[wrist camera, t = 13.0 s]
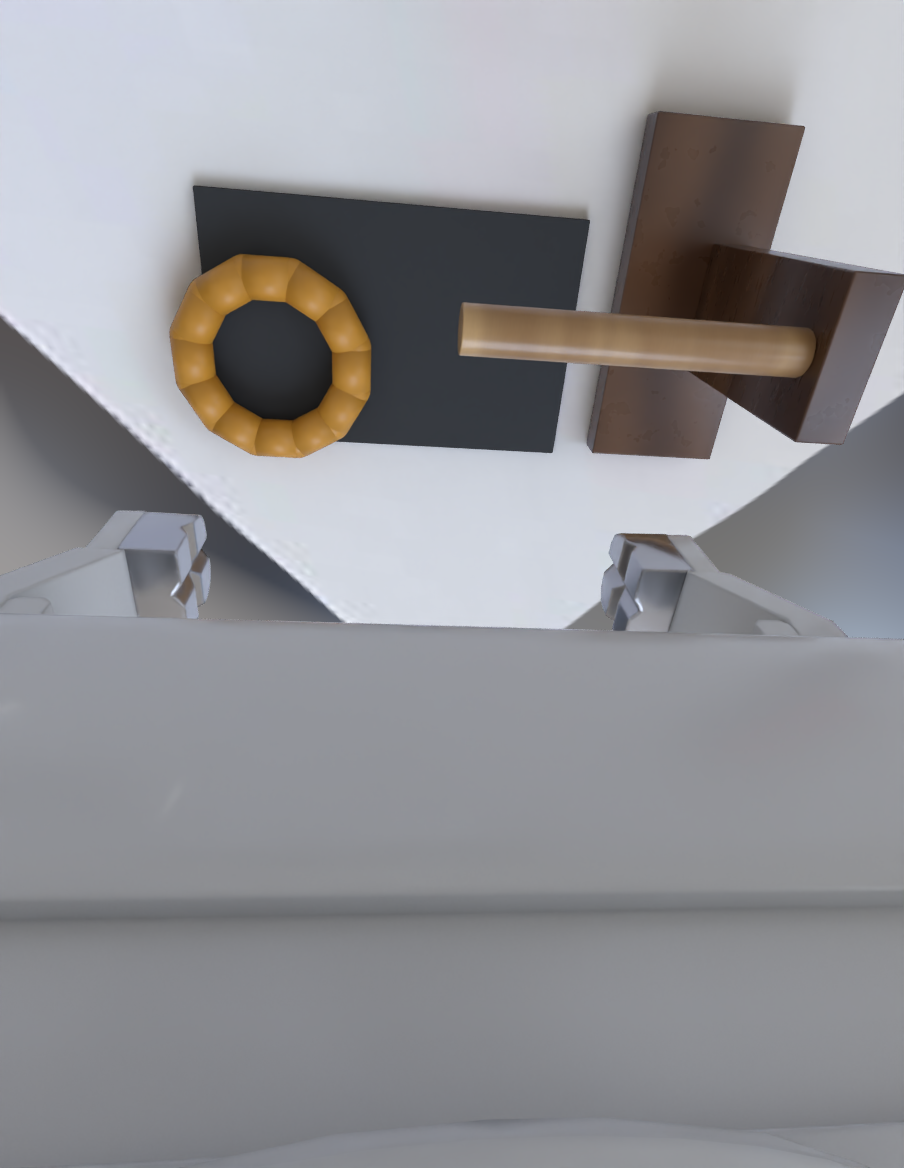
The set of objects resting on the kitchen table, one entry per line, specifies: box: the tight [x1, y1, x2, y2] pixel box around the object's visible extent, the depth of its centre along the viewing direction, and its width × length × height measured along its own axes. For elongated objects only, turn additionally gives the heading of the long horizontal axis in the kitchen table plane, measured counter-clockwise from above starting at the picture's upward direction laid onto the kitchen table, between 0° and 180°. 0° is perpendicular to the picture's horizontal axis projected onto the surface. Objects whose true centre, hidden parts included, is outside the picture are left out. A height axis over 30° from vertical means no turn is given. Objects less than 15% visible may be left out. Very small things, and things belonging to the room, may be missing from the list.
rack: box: [458, 111, 904, 459], centre depth 29 cm, size 16×16×14 cm
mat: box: [193, 186, 590, 453], centre depth 35 cm, size 19×12×1 cm, turn 86°
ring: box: [170, 254, 371, 458], centre depth 34 cm, size 10×2×10 cm
